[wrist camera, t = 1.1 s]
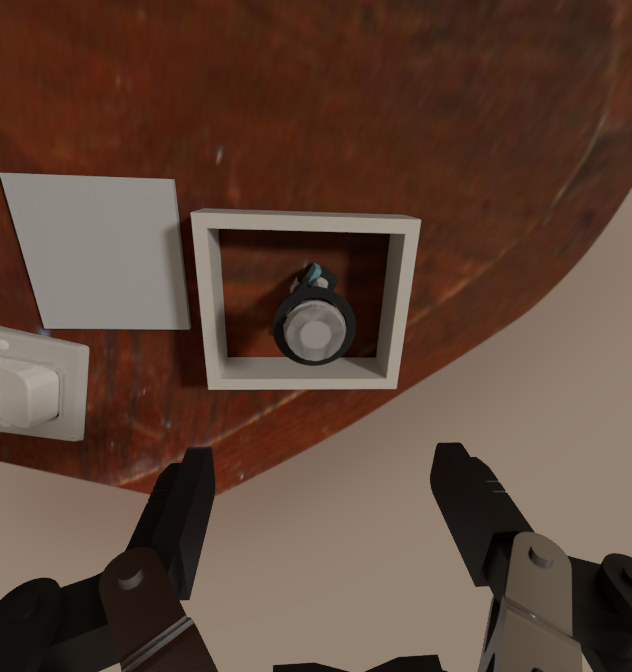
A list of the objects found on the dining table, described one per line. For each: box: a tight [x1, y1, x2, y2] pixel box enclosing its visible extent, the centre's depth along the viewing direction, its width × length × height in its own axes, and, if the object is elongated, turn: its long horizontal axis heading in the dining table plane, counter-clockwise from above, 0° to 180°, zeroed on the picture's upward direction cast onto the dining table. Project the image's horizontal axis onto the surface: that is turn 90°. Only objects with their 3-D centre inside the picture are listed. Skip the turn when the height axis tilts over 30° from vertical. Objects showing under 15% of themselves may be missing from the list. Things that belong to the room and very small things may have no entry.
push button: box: [273, 263, 356, 366], centre depth 26 cm, size 7×5×10 cm
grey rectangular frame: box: [191, 208, 421, 390], centre depth 29 cm, size 16×14×4 cm
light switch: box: [0, 326, 89, 441], centre depth 31 cm, size 11×4×13 cm
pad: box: [0, 173, 191, 330], centre depth 28 cm, size 12×12×1 cm
